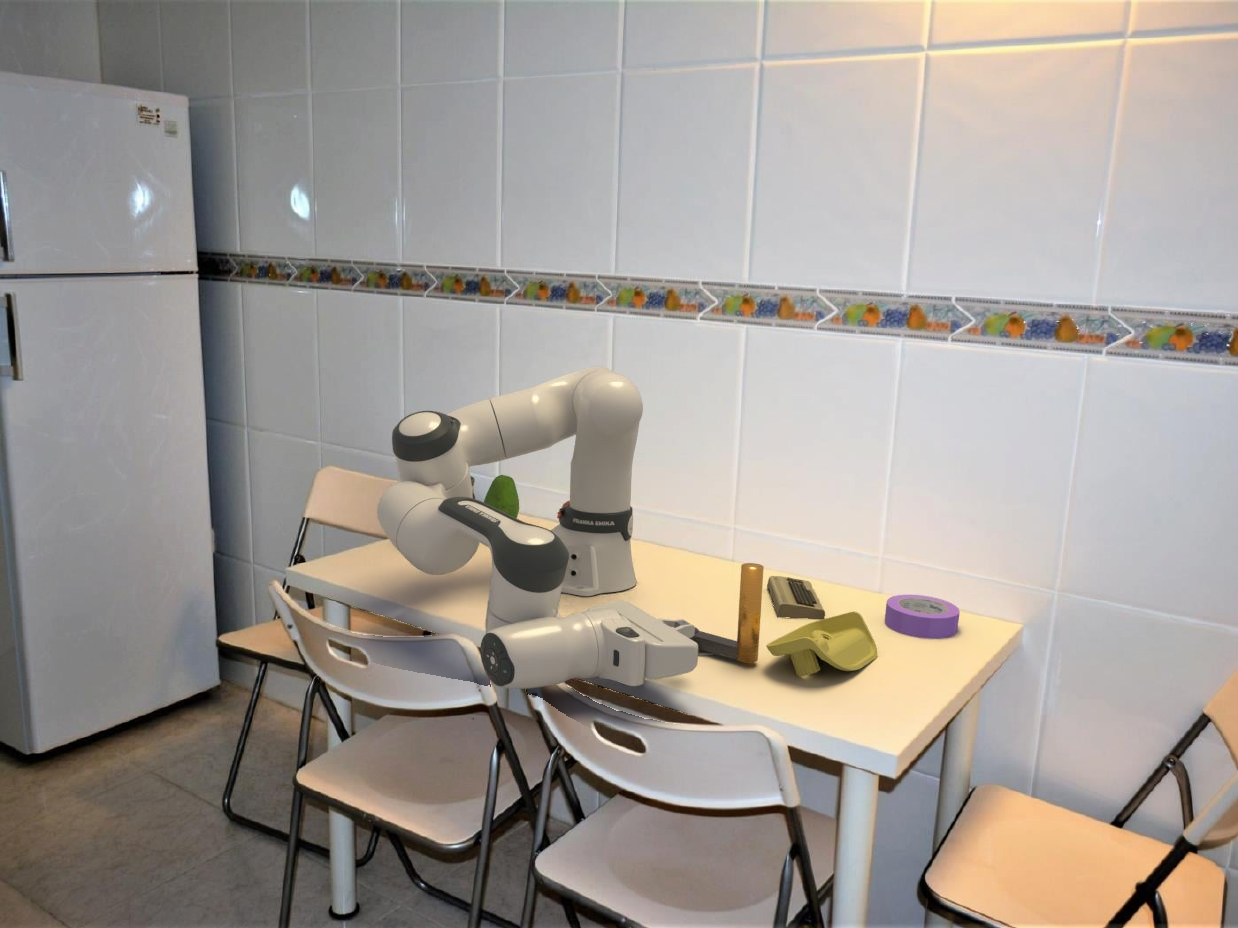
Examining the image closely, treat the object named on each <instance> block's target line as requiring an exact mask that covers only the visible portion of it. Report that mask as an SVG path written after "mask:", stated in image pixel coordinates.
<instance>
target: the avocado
mask: <svg viewBox="0 0 1238 928" xmlns="http://www.w3.org/2000/svg"><path fill="white" fill-rule="evenodd" d="M483 502H484V503H486V504H488V505H490V506H492V507H495V508H497V509H499V510H501V511H503V512H505V513H507V514H509V515H511V516H513V517H515V518H517V519H518V515H519V511H520V499H519V494H518V490H517V487H516V483H515V479H513V477H512V476H509V475H507V474H506V475H505V474H500V475H498V476H496V477H495V478H494V479H493V481H492V482H491V484H490V486H489V488H488V490H487V493H486V495H485V498H484V501H483Z"/></svg>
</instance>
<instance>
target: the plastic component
mask: <svg viewBox="0 0 1238 928" xmlns="http://www.w3.org/2000/svg"><path fill="white" fill-rule="evenodd" d="M765 646H766V648H767V650H768V651H769V652H770V654H771V655H772V656H774V657H780V656H784V657H785V658H791V661H792V664H793V667H794V671H795V673H796V676H797V677H799V678H801V677H806V676H810V675H812V674H816V673H818V672H819V671H821V667H820V665H819V661H818V659H817V657H819V658H820V660H822V661H824V662H825V663H828V664H829V665H830V666H831V667H833V668H836V669H838V670H840V671H844V672H852V671H858V670H861V669H862V668H863V667H865V666H866V665H868V664H869V663H871V662H872V661H874V660H876V658H877V657H878V648H877V644H876V641H875V639H874V637H873V636H872V633H871V631H870V629H869V628H868V626H867V623H866V622H865V620H864V618H863V615H861V613H860V612H858V611H850V612H846V613H841V614H838V615H834V616H831V617H825V618H824V619H818V620H816V621H813V622H809V623H806V624H804V625H802V626H800V627H798V628H796V629H794V630H792V631H791V632H789V633H786V634H784V635H782V636H781V637H778V638H776V639H774V640H772V641H770V642H768V643H767V644H766V645H765Z"/></svg>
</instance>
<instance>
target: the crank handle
mask: <svg viewBox="0 0 1238 928" xmlns="http://www.w3.org/2000/svg"><path fill="white" fill-rule="evenodd" d="M764 568H765V567H764V565H762V564H759V563H755V562H754V563H753V562H746V563H745V562H744V563H742V564H741V566H740V583H739V584H740V585H739V598H738V599H739V602H738V603H739V604H738V615H737V616H738V617H737V619H738V621H737V634H736V635H737V636H736V640H735V639H730V638H728V637H724V636H720V635H716V634H713V633H709V632H705V631H701V630H699V629H698V628H697V627H696V626H695V634H694V636H693V637H691V638H689V639H691V640H693V641H695V642H696V643H697V644H698V649H702V650H705V651H709V652H712V653H714V654H716V655H719V656H723V657H727V658H731V659H734V660H737V661H738V662H741V663H745V664H755V663H757V662H758V660H759V647H760V631H761V617H762V613H761V612H762V598H763V581H764Z"/></svg>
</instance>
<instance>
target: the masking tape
mask: <svg viewBox="0 0 1238 928" xmlns="http://www.w3.org/2000/svg"><path fill="white" fill-rule="evenodd" d="M960 612H961V611H960V609H959V607H958V606H957V605H955V604H953V603H951V602H950V601H947V600H944V599H942V598H937V597H933V596H929V595H922V594H921V595H920V594H896V595H893V596H891V597H889V598H888V599H887V600H886V604H885V615H884V624H885V626H886V627H887V628H889V629H890V630H892V631H894V632H895V633H899V634H902V635H905V636H908V637H914V638H920V639H936V640H937V639H948V638H951V637H953V636H955V635H956V634H958V633H957V632H958V629H959V621H960V620H959V619H960Z"/></svg>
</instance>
